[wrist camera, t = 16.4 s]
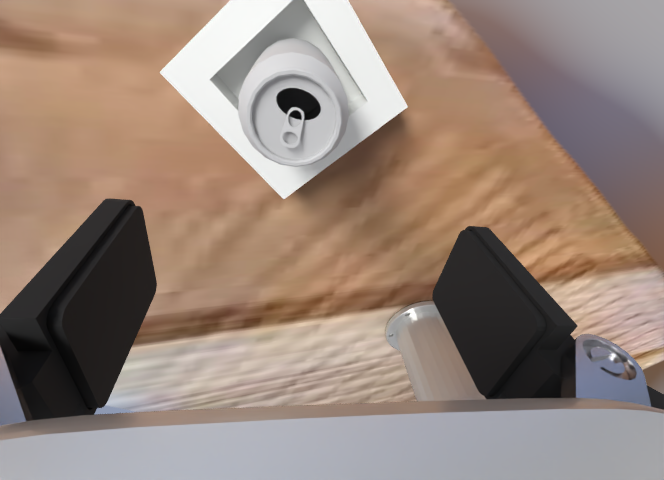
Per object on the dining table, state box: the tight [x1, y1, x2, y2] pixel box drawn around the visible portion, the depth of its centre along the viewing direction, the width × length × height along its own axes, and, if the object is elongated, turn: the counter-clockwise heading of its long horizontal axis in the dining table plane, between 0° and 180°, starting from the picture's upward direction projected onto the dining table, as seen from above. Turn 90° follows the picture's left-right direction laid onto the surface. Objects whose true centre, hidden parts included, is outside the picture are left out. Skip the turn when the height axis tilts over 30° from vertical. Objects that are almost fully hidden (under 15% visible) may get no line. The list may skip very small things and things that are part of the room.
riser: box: [160, 0, 408, 199], centre depth 31 cm, size 15×15×6 cm
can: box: [238, 38, 349, 167], centre depth 26 cm, size 8×8×12 cm
